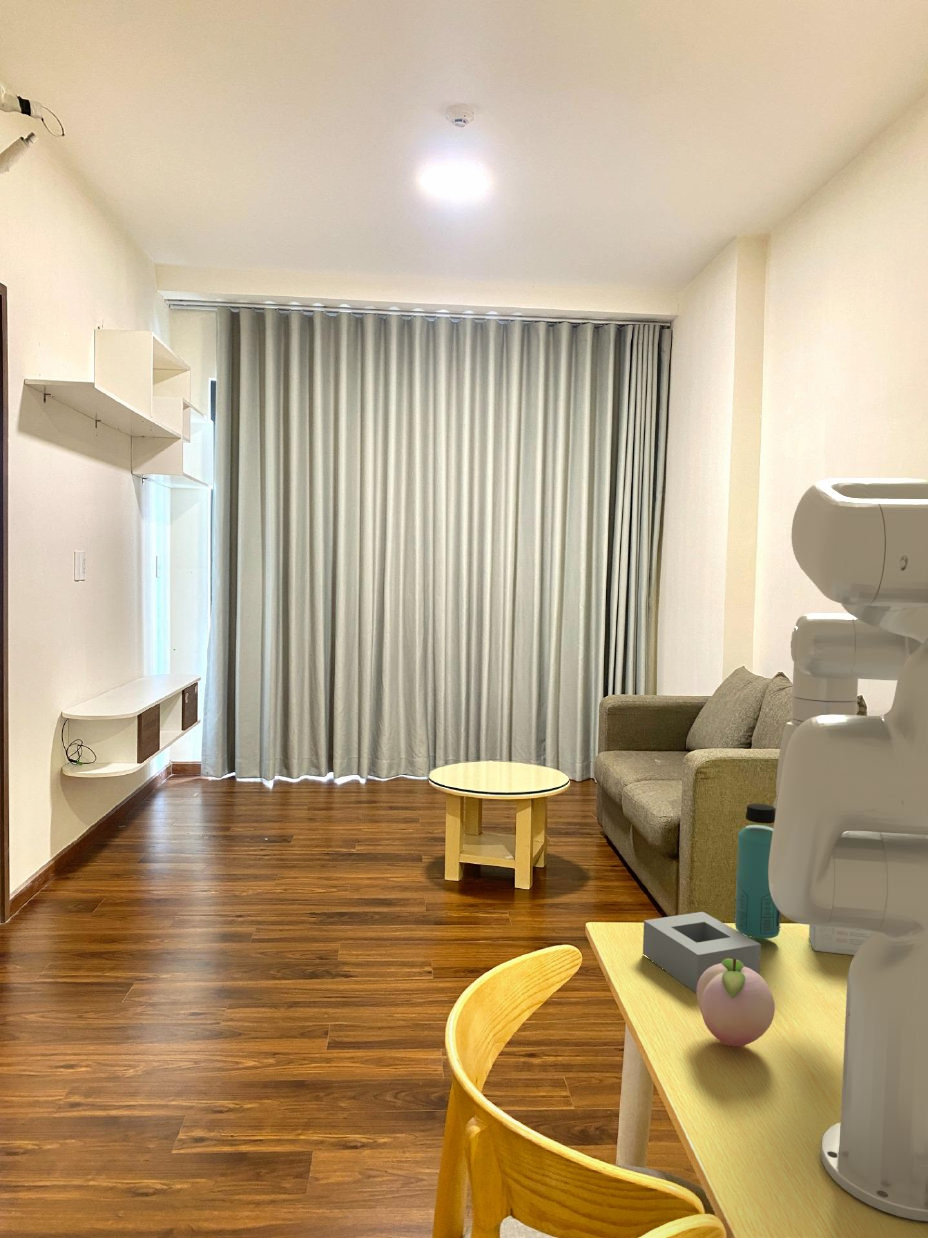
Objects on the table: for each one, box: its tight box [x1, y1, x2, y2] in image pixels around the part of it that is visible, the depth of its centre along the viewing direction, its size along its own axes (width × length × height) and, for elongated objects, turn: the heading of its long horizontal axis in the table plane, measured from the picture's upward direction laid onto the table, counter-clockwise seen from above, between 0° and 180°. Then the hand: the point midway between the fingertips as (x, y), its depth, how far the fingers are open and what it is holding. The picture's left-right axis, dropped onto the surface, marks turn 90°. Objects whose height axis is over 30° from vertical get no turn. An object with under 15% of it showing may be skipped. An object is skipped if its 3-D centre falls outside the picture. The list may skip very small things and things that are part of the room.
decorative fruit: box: [696, 958, 776, 1047], centre depth 102 cm, size 9×8×10 cm
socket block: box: [642, 911, 761, 994], centre depth 122 cm, size 12×10×5 cm
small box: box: [808, 925, 872, 956], centre depth 130 cm, size 8×6×10 cm
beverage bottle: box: [733, 803, 782, 940], centre depth 132 cm, size 6×7×20 cm
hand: (817, 857), depth 113 cm, fingers closed on walnut peg, 4 cm apart
